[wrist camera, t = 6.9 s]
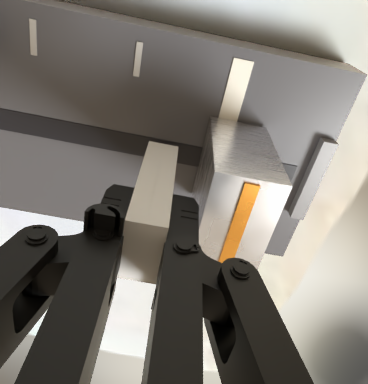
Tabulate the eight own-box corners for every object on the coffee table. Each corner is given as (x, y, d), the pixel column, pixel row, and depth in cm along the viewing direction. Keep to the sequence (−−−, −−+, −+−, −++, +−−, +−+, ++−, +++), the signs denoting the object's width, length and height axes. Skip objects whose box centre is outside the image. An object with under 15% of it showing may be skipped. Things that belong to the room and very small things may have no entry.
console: (-69, -28, 17) (-134, -29, 14) (348, 63, 19) (380, 82, 15) (-35, 177, 24) (-74, 210, 20) (275, 232, 25) (287, 272, 22)
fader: (210, 116, 18) (214, 172, 13) (266, 127, 18) (293, 187, 13) (191, 195, 21) (188, 269, 15) (240, 205, 21) (253, 280, 16)
